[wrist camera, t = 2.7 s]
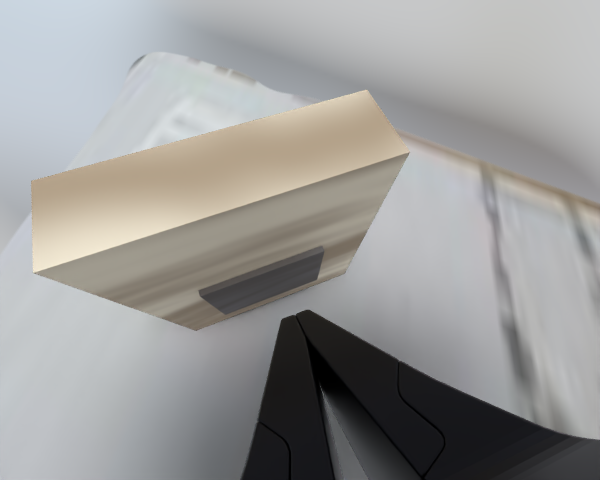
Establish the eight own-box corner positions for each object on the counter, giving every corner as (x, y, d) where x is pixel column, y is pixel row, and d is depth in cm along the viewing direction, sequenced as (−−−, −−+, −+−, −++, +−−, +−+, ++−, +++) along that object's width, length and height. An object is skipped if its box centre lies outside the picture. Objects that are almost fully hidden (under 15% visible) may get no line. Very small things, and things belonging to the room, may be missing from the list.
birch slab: (346, 277, 21) (415, 158, 9) (197, 334, 19) (32, 283, 7) (328, 238, 22) (367, 89, 10) (186, 289, 20) (31, 180, 8)
